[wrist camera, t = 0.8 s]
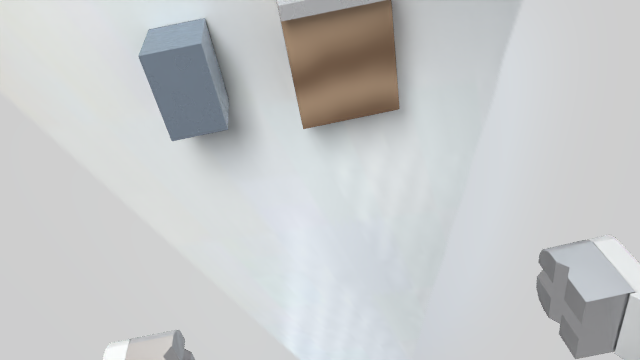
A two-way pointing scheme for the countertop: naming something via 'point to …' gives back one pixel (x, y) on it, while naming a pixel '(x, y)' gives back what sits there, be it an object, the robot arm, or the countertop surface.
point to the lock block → (185, 79)
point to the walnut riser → (340, 58)
